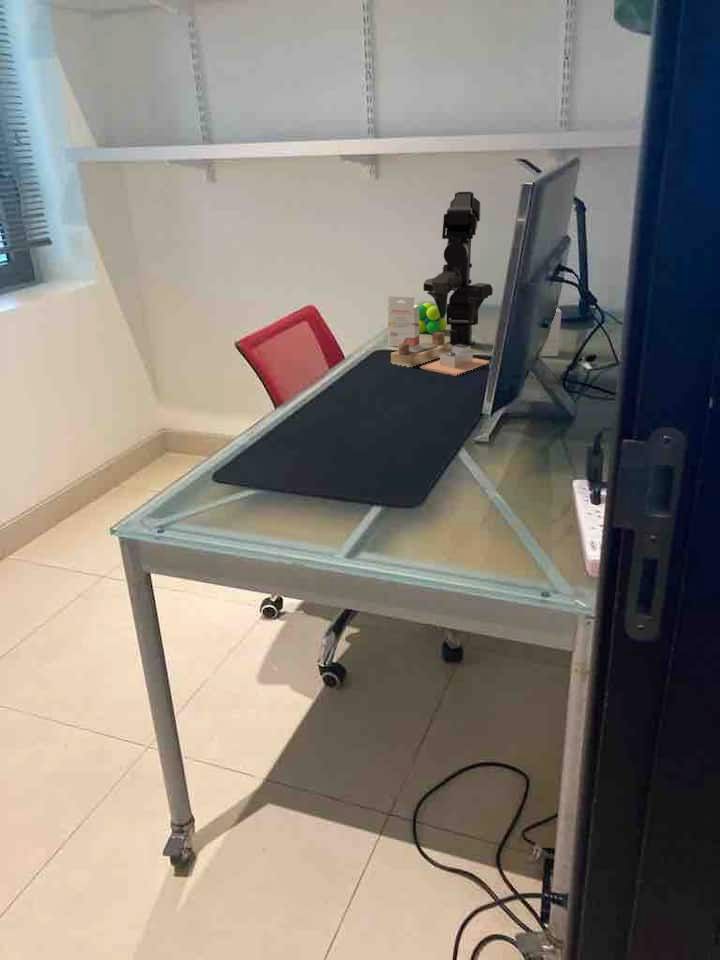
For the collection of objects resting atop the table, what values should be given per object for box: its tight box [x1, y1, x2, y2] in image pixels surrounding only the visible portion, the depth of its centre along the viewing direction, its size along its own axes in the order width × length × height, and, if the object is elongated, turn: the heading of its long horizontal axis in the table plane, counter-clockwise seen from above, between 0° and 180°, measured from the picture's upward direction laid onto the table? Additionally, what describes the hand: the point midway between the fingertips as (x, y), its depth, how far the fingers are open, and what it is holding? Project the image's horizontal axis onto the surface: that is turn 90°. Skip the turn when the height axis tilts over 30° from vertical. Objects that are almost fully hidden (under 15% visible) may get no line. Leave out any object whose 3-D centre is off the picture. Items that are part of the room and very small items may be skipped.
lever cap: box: [439, 344, 474, 368], centre depth 204 cm, size 8×5×4 cm, turn 137°
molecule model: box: [418, 302, 447, 335], centre depth 243 cm, size 9×9×9 cm
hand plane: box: [390, 331, 452, 368], centre depth 211 cm, size 18×7×6 cm, turn 137°
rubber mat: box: [419, 357, 490, 377], centre depth 205 cm, size 16×12×1 cm
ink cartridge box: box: [387, 296, 420, 347], centre depth 226 cm, size 9×5×15 cm, turn 68°
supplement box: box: [541, 306, 562, 357], centre depth 212 cm, size 7×7×13 cm
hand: (456, 320), depth 204 cm, fingers open, 9 cm apart
